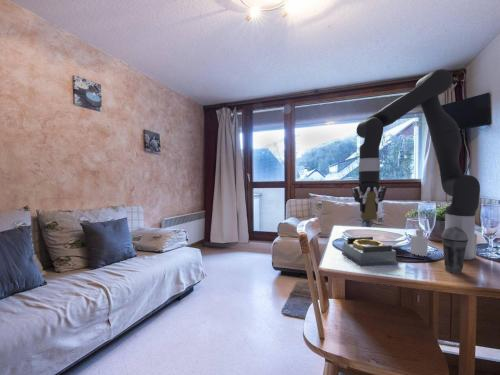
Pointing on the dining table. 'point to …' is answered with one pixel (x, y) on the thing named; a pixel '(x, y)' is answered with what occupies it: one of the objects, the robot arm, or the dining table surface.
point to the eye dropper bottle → (419, 243)
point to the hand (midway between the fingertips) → (368, 212)
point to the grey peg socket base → (369, 252)
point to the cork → (370, 206)
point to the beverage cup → (454, 248)
